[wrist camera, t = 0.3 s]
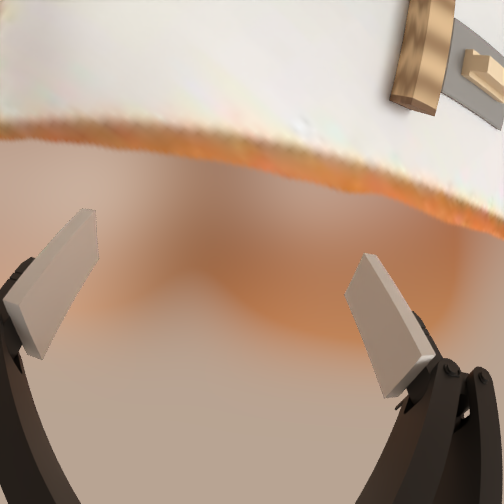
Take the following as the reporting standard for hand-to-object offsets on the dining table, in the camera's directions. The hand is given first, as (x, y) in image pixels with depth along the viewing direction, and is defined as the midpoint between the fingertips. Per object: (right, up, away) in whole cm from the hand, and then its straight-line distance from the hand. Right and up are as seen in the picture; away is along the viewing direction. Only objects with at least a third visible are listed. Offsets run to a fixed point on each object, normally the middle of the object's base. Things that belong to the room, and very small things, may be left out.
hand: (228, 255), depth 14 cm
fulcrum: (+38, +29, +16) cm, 50 cm away
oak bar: (+24, +29, +15) cm, 41 cm away
